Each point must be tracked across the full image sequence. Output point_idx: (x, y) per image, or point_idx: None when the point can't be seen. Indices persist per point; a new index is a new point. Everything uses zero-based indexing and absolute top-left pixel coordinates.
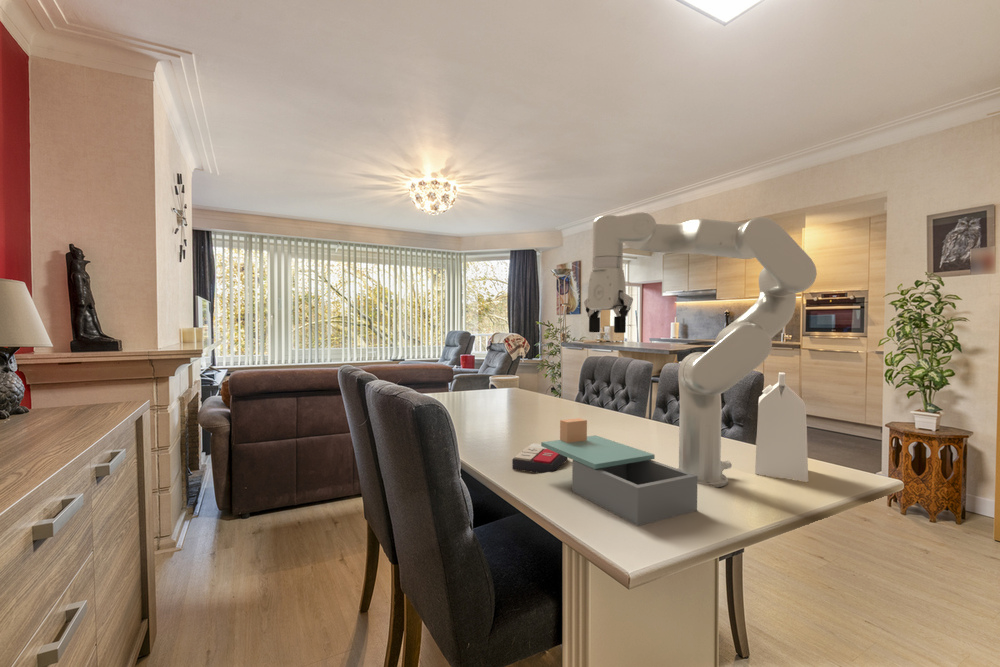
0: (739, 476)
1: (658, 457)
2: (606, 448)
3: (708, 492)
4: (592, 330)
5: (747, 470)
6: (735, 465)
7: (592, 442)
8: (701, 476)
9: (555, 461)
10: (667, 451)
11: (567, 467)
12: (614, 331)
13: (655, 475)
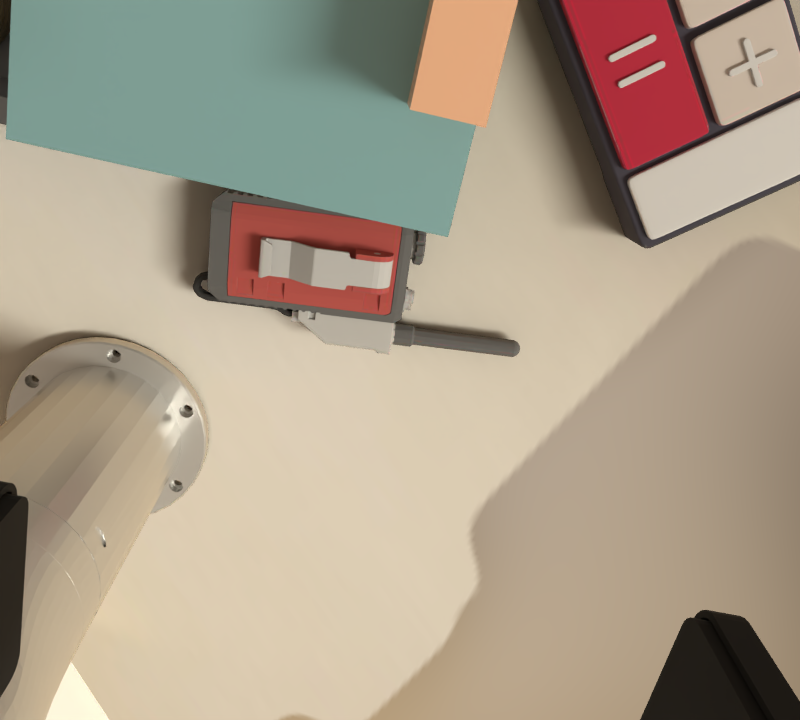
0: None
1: (379, 557)
2: (220, 37)
3: (5, 326)
4: (688, 655)
5: (85, 644)
6: (143, 666)
7: (353, 86)
8: (48, 384)
9: (565, 47)
10: (405, 649)
11: (552, 142)
12: (1, 486)
13: (6, 90)
